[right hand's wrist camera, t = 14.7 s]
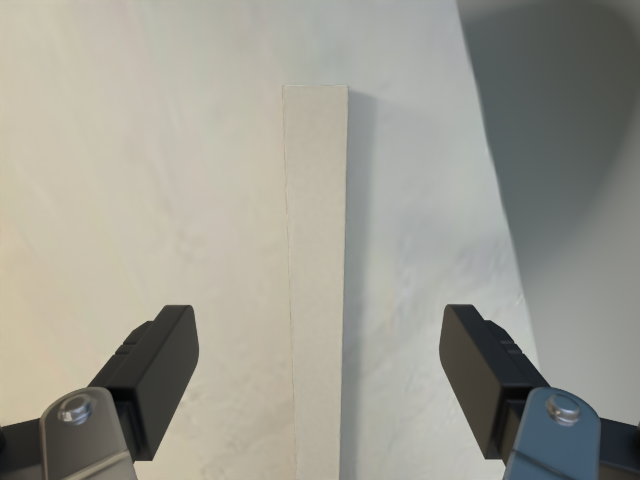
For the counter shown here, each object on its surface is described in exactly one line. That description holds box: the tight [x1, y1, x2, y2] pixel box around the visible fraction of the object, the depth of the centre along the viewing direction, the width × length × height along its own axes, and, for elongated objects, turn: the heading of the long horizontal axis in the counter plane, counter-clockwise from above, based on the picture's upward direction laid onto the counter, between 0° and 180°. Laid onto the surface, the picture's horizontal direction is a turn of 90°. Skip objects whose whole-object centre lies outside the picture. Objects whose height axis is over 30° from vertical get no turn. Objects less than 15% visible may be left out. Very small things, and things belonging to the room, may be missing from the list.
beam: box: [282, 85, 349, 480], centre depth 42 cm, size 68×5×6 cm, turn 0°
